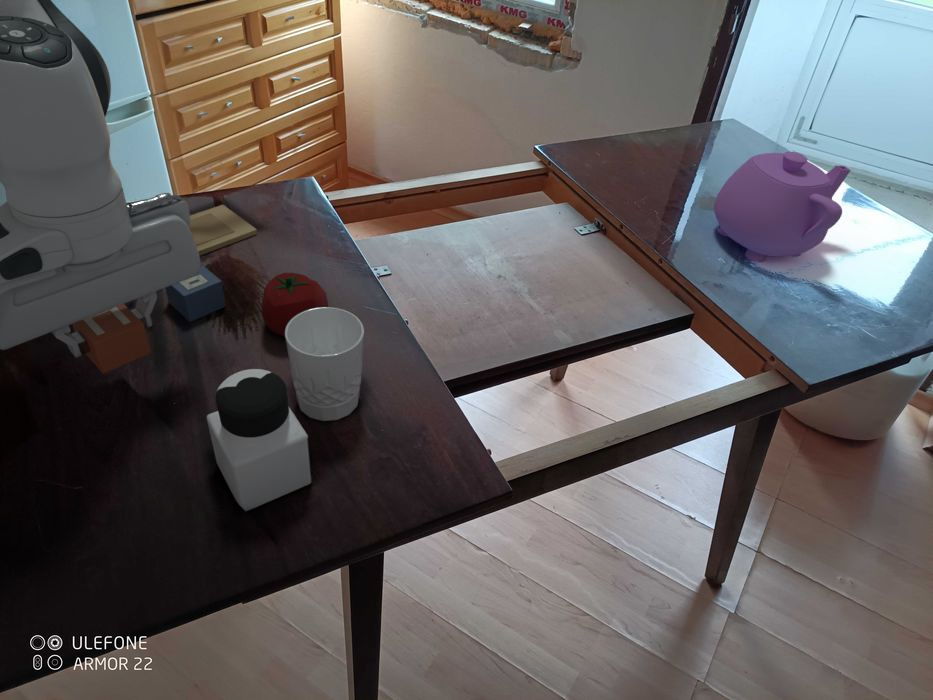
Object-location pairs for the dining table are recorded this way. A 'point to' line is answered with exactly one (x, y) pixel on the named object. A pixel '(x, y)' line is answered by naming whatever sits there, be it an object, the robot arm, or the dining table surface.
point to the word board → (218, 229)
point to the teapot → (779, 205)
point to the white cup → (326, 361)
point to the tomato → (290, 299)
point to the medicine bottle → (258, 439)
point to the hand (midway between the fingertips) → (111, 338)
